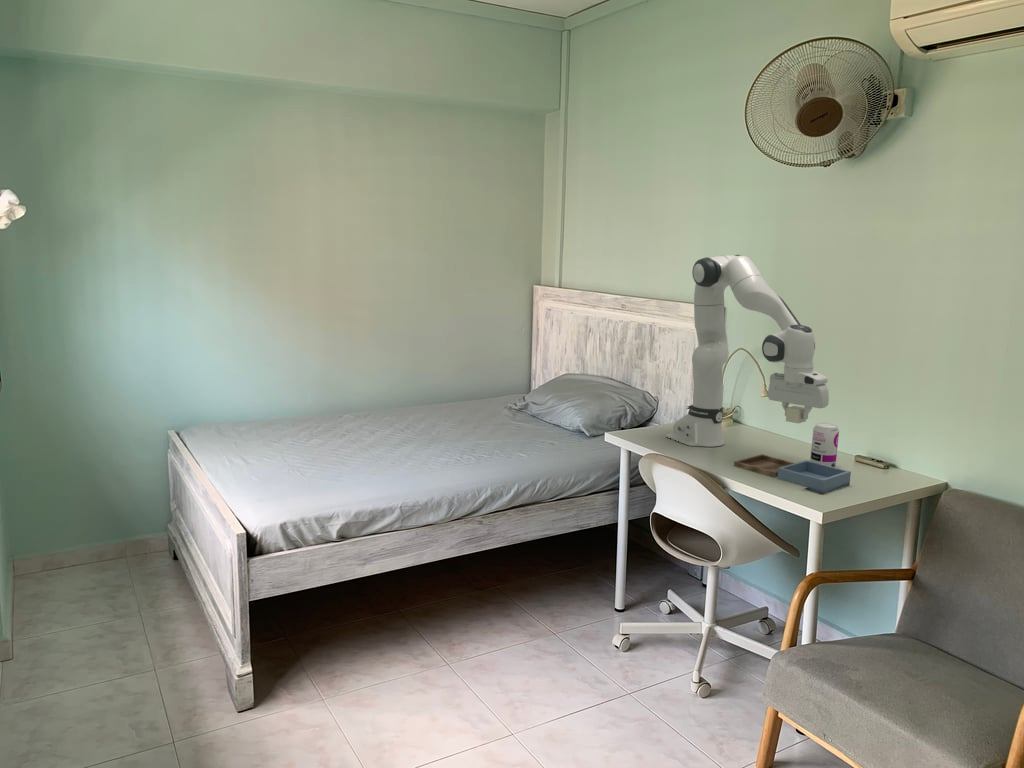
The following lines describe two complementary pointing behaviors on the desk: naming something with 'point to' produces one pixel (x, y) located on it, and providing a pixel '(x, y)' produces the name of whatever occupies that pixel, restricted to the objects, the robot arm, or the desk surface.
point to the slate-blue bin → (815, 476)
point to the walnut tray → (762, 464)
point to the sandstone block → (794, 414)
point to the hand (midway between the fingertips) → (796, 417)
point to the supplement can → (825, 444)
